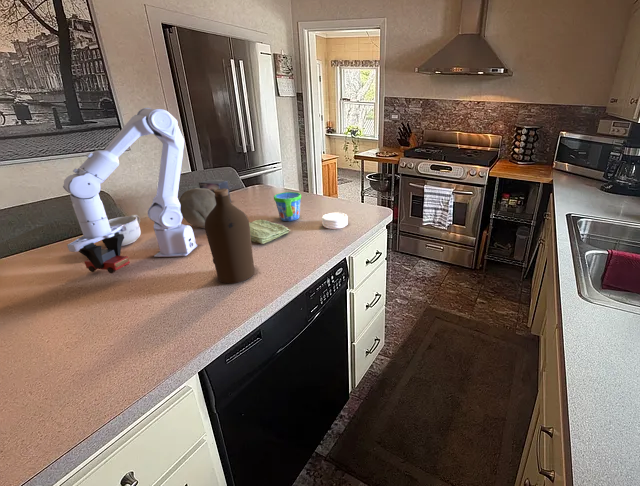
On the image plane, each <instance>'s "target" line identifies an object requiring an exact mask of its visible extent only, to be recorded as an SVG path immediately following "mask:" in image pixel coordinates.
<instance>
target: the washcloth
mask: <svg viewBox="0 0 640 486" xmlns="http://www.w3.org/2000/svg"><path fill="white" fill-rule="evenodd" d="M249 225H250V235H251V242H253V243H257V244H262V245H264V244H267V243H269V242H271V241H274V240H276V239H278V238H280V237H281V236H283V235H286V234H289V232H290V229H289V227H286V226H284V225H283V224H280V223H275V222H271V221H268V220H266V219H256V220H253V221H249Z"/></svg>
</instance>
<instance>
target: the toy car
mask: <svg viewBox="0 0 640 486" xmlns="http://www.w3.org/2000/svg"><path fill="white" fill-rule="evenodd" d="M101 253H102V259H103V262H104V268H102V269H100V268H95V267H94V265H93V264H92V263H91V262H90V260H89V259H88V258H87V260H84V265H85V268H86V269H88V271H89V272H91V273H94V272H96V271H98V270H104V271H107V272H108V273H109V274H113V273H115V272H117V271H118V270H120V269H121V268H123V267H127V266H128V265H129V264H130V263H131V262H130V258H129V255H120V256H116V255H115V252H114V250H109V249H107V248H102V249H101Z"/></svg>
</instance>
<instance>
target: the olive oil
mask: <svg viewBox="0 0 640 486" xmlns="http://www.w3.org/2000/svg"><path fill="white" fill-rule="evenodd" d="M214 193H215V201H216V206H215V207H214V208H213V210H212V211H211V212H210V213H209V215H208V216H207V218H206V220H205V228H204V231H205V236H206V238H207V242H208V246H209V249H210V252H211V256H212V263H213V265H214V267H215V271H216V276H217V279H218V281H219V282H221V283H223V284H237V283H241V282H244V281H247V280H248V279H250V278H252V277H253V276H254V275H255V262H254V256H253V255H254V254H253V245H252V241H251V235H250V225H249V223H250V220H249V218H248V216H247V214H246V213H245V212H244V211H243V210H242V209H240V208H239V207H237V206H236V205H234V204H233V203H232V201H231V202H230V198H231V195H230V196H229V194H228V189H224V188H223V189H216V190H214Z"/></svg>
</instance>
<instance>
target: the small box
mask: <svg viewBox="0 0 640 486" xmlns="http://www.w3.org/2000/svg"><path fill="white" fill-rule="evenodd" d="M228 181H229V180H225V179H210V178H207V179H205V180H201V181H199V182H198V186H199V188H206V189H209V190H211V191H212V192H213V193H214V190H216V189H223V188H224V189H228V194H229V196H230V202H231V203H232V199H231V194H230V187H229V183H228ZM214 194H215V193H214Z"/></svg>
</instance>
